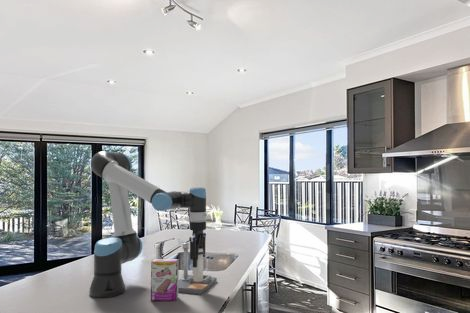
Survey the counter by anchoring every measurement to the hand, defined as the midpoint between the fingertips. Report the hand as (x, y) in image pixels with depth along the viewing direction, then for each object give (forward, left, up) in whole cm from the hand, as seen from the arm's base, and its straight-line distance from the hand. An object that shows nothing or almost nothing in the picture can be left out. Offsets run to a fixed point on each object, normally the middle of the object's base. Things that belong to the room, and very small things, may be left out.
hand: (197, 272), depth 161 cm
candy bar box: (-14, +9, -8) cm, 19 cm away
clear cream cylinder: (0, 0, -3) cm, 3 cm away
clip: (+12, +14, +9) cm, 21 cm away
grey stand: (+6, +5, -8) cm, 11 cm away
